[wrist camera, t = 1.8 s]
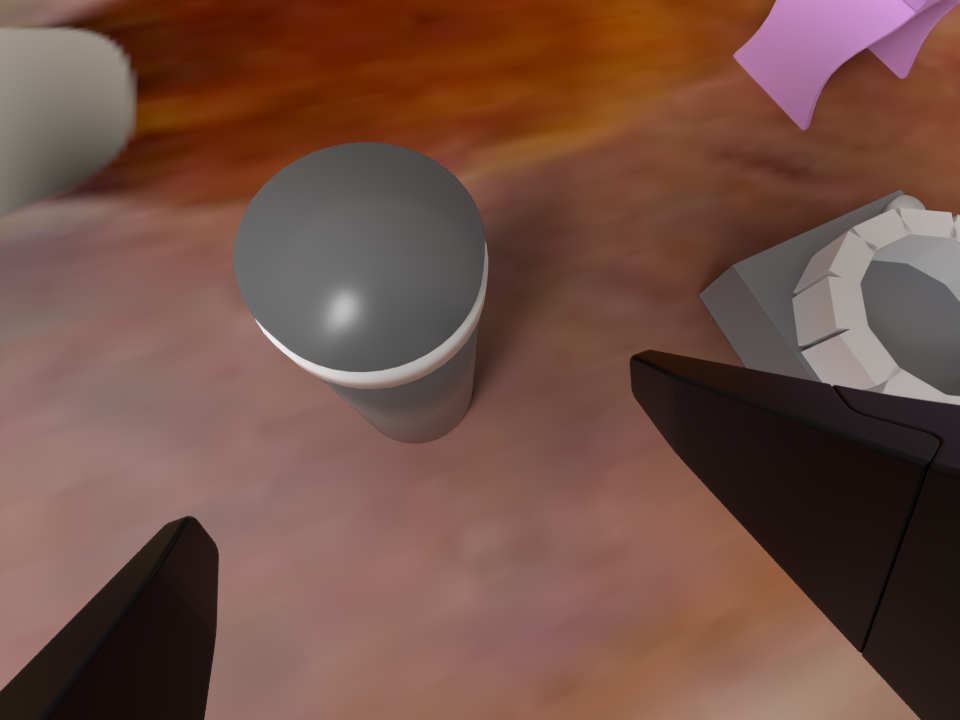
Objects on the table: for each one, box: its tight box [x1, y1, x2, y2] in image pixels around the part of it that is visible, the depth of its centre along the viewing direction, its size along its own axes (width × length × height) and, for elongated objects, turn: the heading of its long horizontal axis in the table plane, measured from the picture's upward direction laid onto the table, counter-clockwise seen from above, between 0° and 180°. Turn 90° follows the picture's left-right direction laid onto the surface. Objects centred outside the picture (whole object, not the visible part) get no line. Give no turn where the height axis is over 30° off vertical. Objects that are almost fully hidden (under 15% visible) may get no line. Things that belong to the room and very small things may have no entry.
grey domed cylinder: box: [234, 142, 488, 443], centre depth 15 cm, size 5×5×12 cm
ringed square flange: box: [698, 190, 960, 405], centre depth 20 cm, size 11×10×5 cm
